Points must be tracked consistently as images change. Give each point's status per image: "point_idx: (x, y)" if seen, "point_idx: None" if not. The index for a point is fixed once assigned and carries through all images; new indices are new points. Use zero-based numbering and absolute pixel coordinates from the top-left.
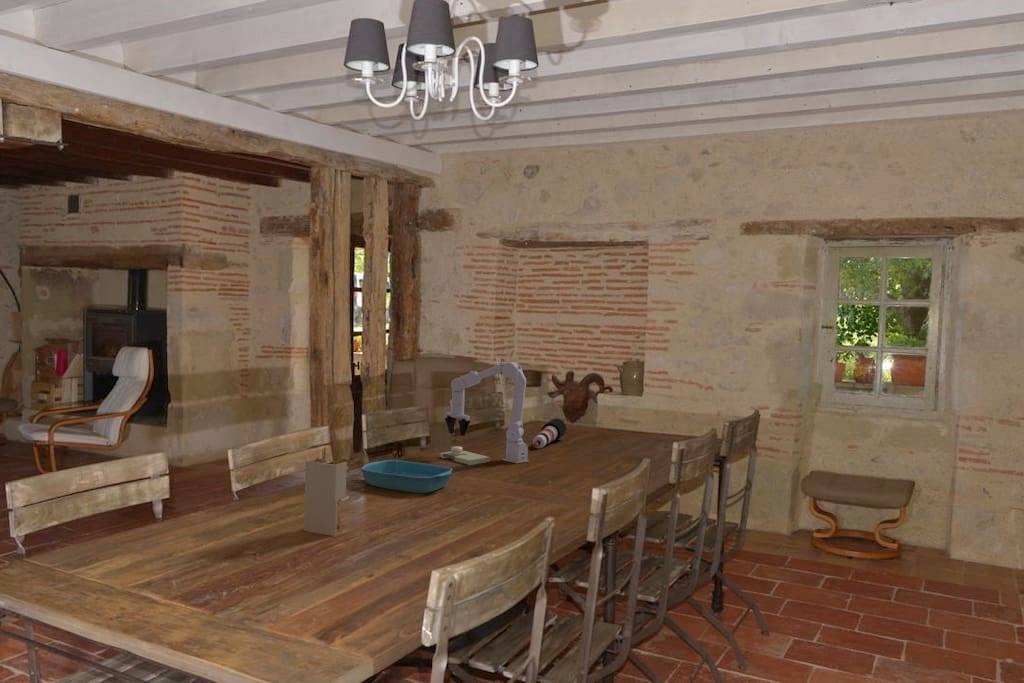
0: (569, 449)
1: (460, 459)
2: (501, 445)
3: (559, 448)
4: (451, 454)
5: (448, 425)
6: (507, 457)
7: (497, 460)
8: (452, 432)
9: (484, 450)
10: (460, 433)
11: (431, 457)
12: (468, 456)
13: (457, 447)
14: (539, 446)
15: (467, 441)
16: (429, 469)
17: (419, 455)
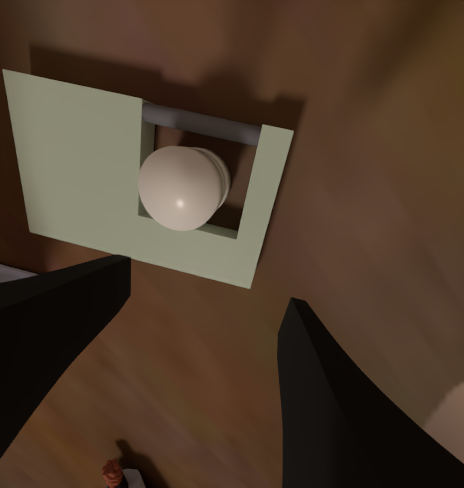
0: (74, 478)
1: (92, 88)
2: (234, 467)
3: (97, 480)
4: (211, 155)
5: (335, 366)
6: (2, 279)
7: (55, 265)
8: (282, 327)
9: (224, 388)
10: (110, 261)
11: (339, 90)
12: (96, 168)
13: (171, 191)
14: (125, 475)
15: None
16: None
17: (458, 82)
